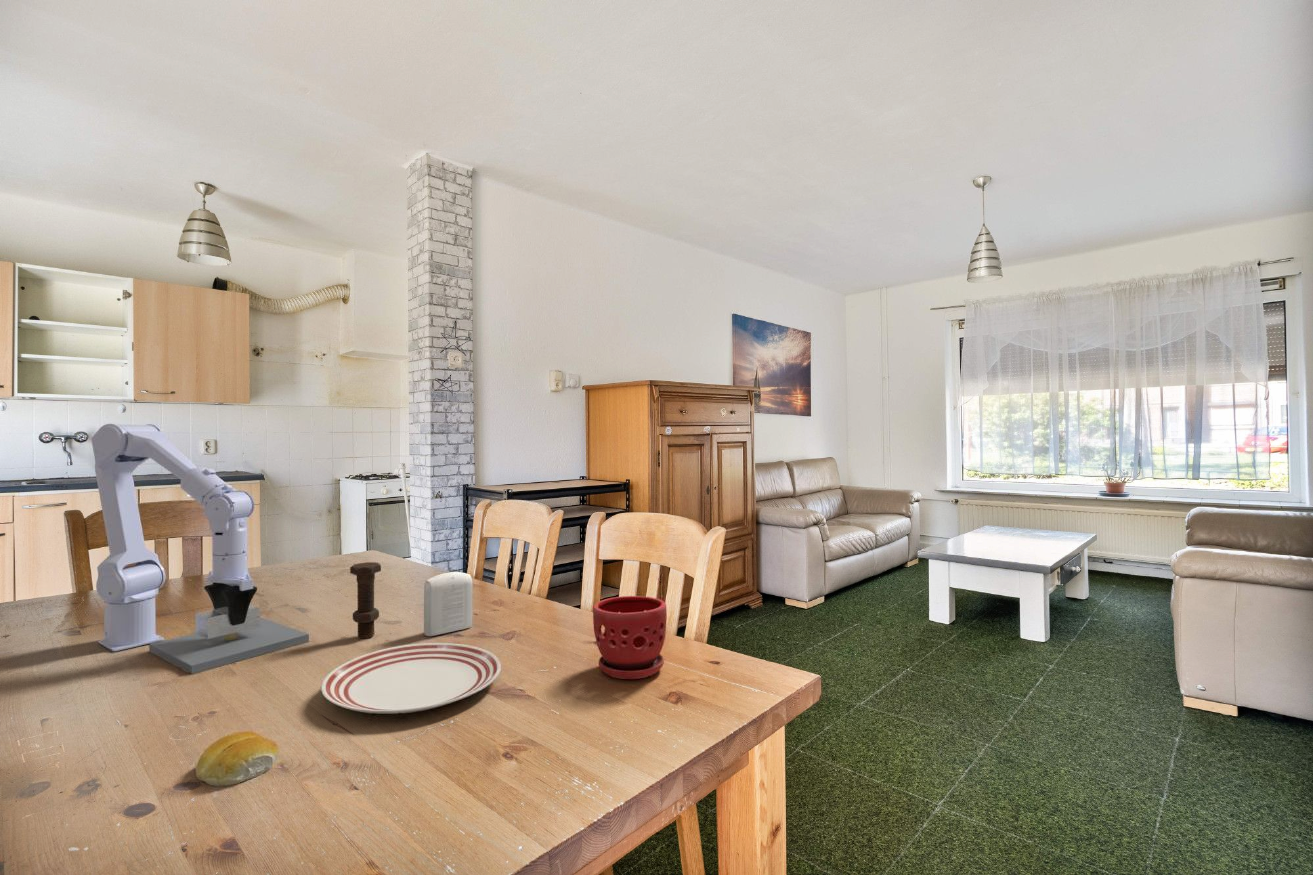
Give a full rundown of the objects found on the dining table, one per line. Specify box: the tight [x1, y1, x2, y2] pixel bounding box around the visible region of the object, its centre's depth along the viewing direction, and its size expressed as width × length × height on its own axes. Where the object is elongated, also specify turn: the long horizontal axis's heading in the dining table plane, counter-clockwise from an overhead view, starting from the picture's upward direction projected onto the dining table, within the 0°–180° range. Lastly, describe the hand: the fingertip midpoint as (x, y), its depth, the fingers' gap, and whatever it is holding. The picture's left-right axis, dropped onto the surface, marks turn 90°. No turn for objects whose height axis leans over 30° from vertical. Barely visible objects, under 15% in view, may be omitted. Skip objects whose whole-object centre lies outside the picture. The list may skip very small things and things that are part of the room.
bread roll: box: [195, 731, 280, 787], centre depth 77 cm, size 8×9×4 cm
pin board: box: [148, 617, 310, 675], centre depth 121 cm, size 20×20×4 cm
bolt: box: [349, 561, 382, 639], centre depth 126 cm, size 6×5×15 cm
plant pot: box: [592, 595, 668, 680], centre depth 109 cm, size 13×13×12 cm
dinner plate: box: [320, 642, 502, 715], centre depth 101 cm, size 28×27×3 cm
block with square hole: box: [194, 603, 261, 639], centre depth 121 cm, size 6×9×4 cm, turn 147°
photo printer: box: [423, 571, 473, 637], centre depth 130 cm, size 10×4×12 cm, turn 134°
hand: (230, 621), depth 121 cm, fingers closed on block with square hole, 6 cm apart
